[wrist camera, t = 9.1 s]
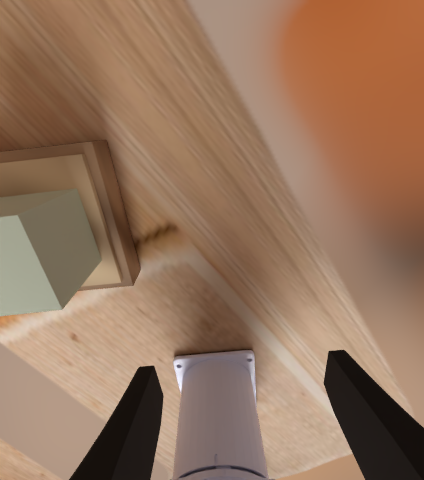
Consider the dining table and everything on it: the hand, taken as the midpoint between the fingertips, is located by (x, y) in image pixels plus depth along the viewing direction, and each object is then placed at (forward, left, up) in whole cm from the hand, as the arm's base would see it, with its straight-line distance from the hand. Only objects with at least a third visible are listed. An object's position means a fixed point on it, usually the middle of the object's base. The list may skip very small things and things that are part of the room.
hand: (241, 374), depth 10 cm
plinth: (+4, +11, -10) cm, 16 cm away
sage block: (+4, +11, -8) cm, 14 cm away
